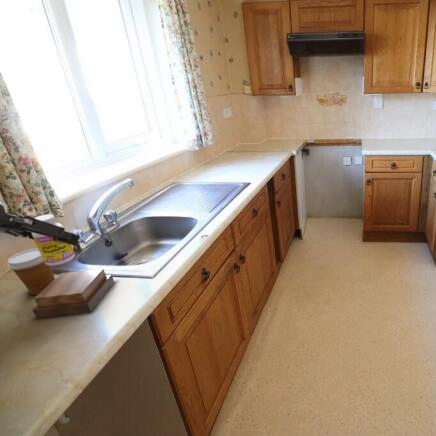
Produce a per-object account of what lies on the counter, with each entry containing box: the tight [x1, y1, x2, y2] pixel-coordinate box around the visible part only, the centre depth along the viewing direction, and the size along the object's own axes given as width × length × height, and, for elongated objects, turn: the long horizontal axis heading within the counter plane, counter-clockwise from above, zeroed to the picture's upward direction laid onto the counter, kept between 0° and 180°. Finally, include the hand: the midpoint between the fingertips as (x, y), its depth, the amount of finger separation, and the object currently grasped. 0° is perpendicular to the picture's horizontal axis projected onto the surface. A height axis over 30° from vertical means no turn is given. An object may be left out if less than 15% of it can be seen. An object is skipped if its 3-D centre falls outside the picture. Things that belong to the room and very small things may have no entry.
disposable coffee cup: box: [7, 247, 56, 295], centre depth 98 cm, size 10×10×12 cm
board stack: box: [32, 268, 115, 319], centre depth 94 cm, size 14×14×6 cm
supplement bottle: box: [32, 213, 75, 267], centre depth 87 cm, size 7×7×13 cm
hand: (65, 240), depth 90 cm, fingers closed on supplement bottle, 7 cm apart
